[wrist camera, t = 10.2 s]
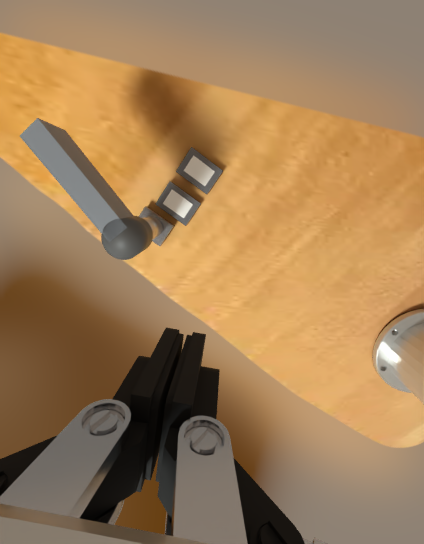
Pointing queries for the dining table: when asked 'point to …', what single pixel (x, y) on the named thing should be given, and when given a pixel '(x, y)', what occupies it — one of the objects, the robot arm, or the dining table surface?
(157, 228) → the bar post
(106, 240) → the swing bar
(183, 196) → the label plate
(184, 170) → the label plate
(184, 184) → the dining table surface
